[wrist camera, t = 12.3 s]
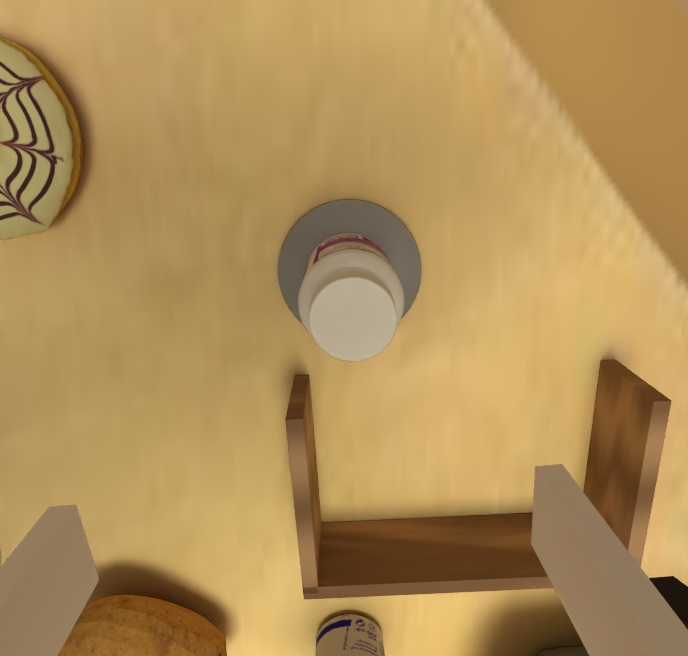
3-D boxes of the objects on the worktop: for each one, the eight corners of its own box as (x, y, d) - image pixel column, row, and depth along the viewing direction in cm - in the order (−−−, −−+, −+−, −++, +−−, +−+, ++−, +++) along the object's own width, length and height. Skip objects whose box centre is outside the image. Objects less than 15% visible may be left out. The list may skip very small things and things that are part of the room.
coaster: (252, 285, 32) (250, 287, 31) (335, 168, 29) (335, 168, 29) (362, 362, 34) (362, 365, 33) (448, 257, 31) (450, 259, 31)
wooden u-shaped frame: (592, 520, 38) (637, 584, 32) (309, 533, 38) (303, 599, 33) (615, 359, 34) (671, 400, 28) (294, 375, 34) (285, 419, 28)
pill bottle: (364, 328, 32) (373, 396, 23) (291, 290, 31) (271, 344, 22) (407, 257, 31) (436, 299, 21) (332, 214, 30) (328, 239, 21)
